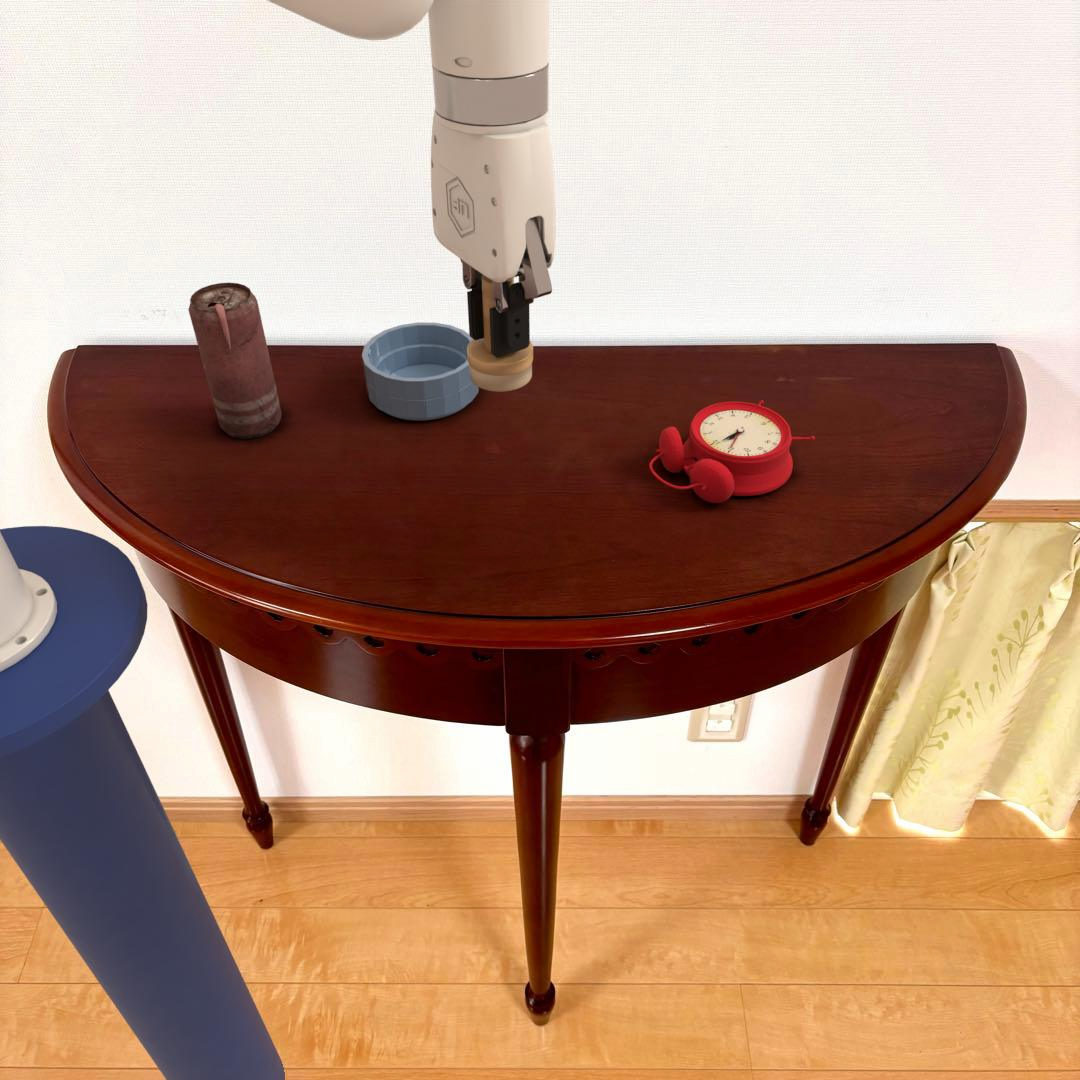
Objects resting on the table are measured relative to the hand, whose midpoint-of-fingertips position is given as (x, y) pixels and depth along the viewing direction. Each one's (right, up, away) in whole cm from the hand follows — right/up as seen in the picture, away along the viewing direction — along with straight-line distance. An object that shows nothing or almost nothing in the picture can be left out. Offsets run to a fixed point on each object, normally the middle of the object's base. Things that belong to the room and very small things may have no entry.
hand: (499, 341), depth 75 cm
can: (-26, -4, +22) cm, 34 cm away
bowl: (-9, 0, +26) cm, 27 cm away
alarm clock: (+20, -9, +15) cm, 27 cm away
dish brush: (0, -2, +2) cm, 3 cm away
